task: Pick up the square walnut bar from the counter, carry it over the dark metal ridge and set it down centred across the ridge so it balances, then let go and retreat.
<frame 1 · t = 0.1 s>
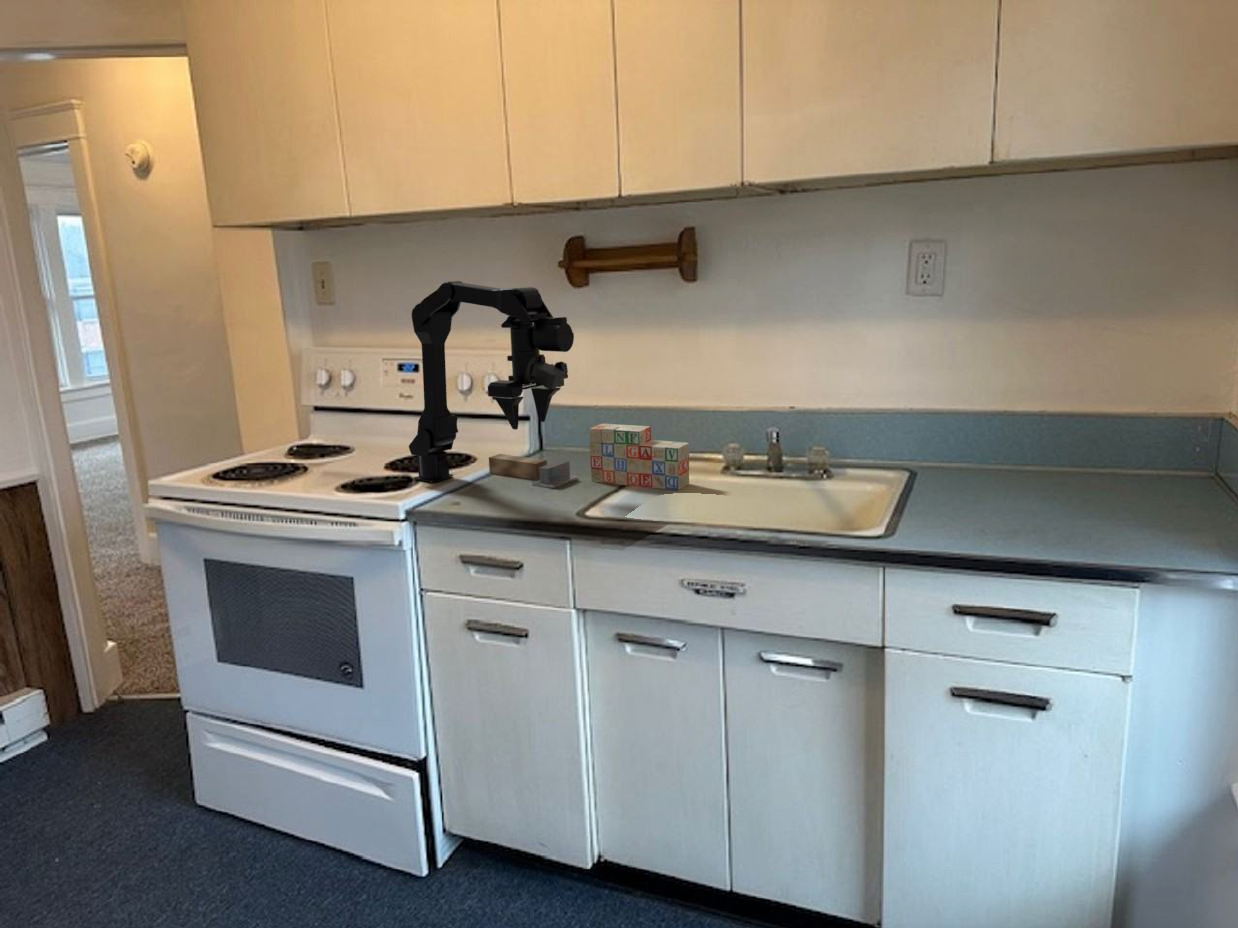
hand: (529, 425, 180), 15 cm above the worktop, fingers open, 9 cm apart
ridge: (555, 481, 192), on the worktop
bar: (518, 475, 200), on the worktop
stack of blocks: (639, 484, 190), on the worktop
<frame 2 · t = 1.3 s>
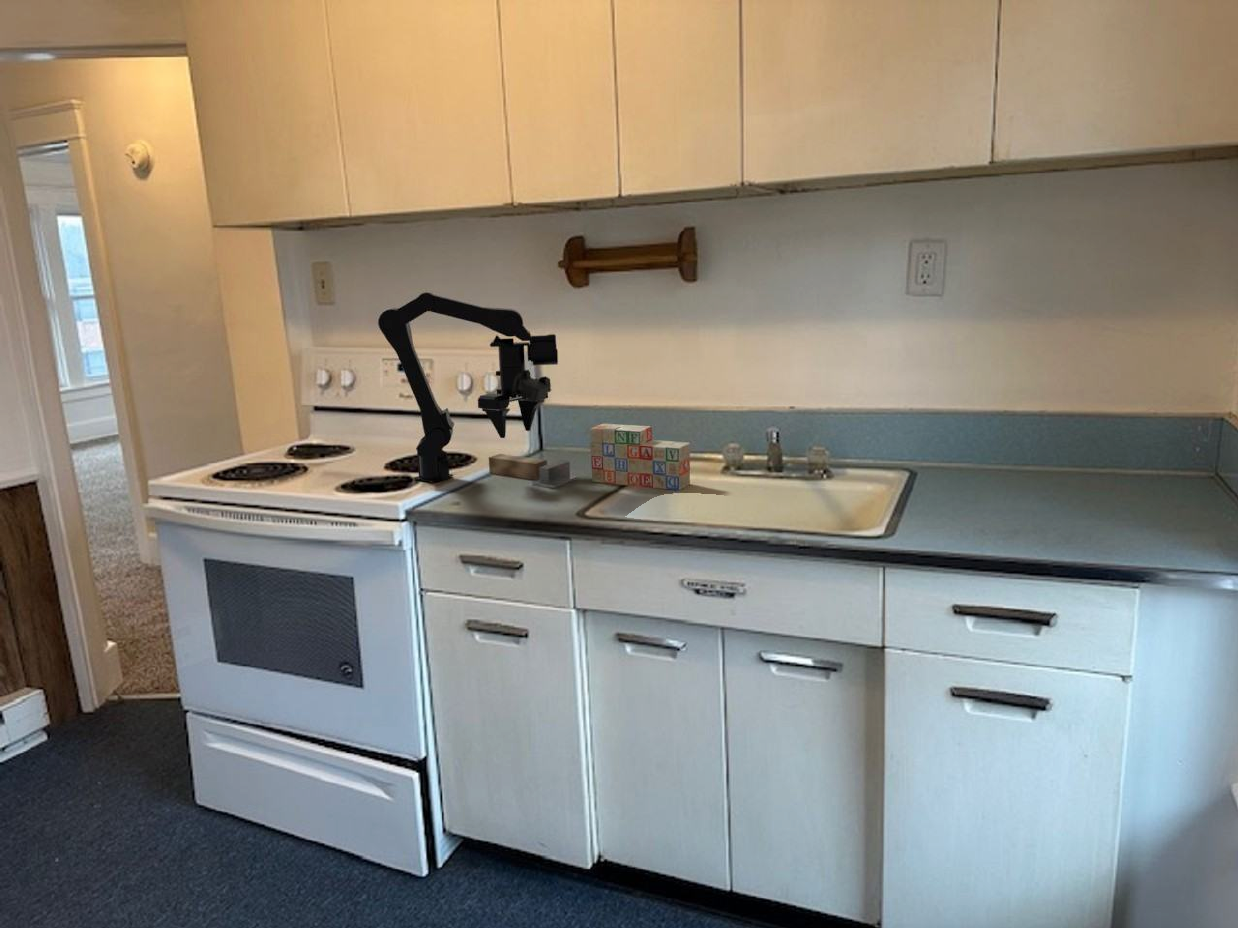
hand: (515, 434, 198), 9 cm above the worktop, fingers open, 9 cm apart
nothing on the worktop moved.
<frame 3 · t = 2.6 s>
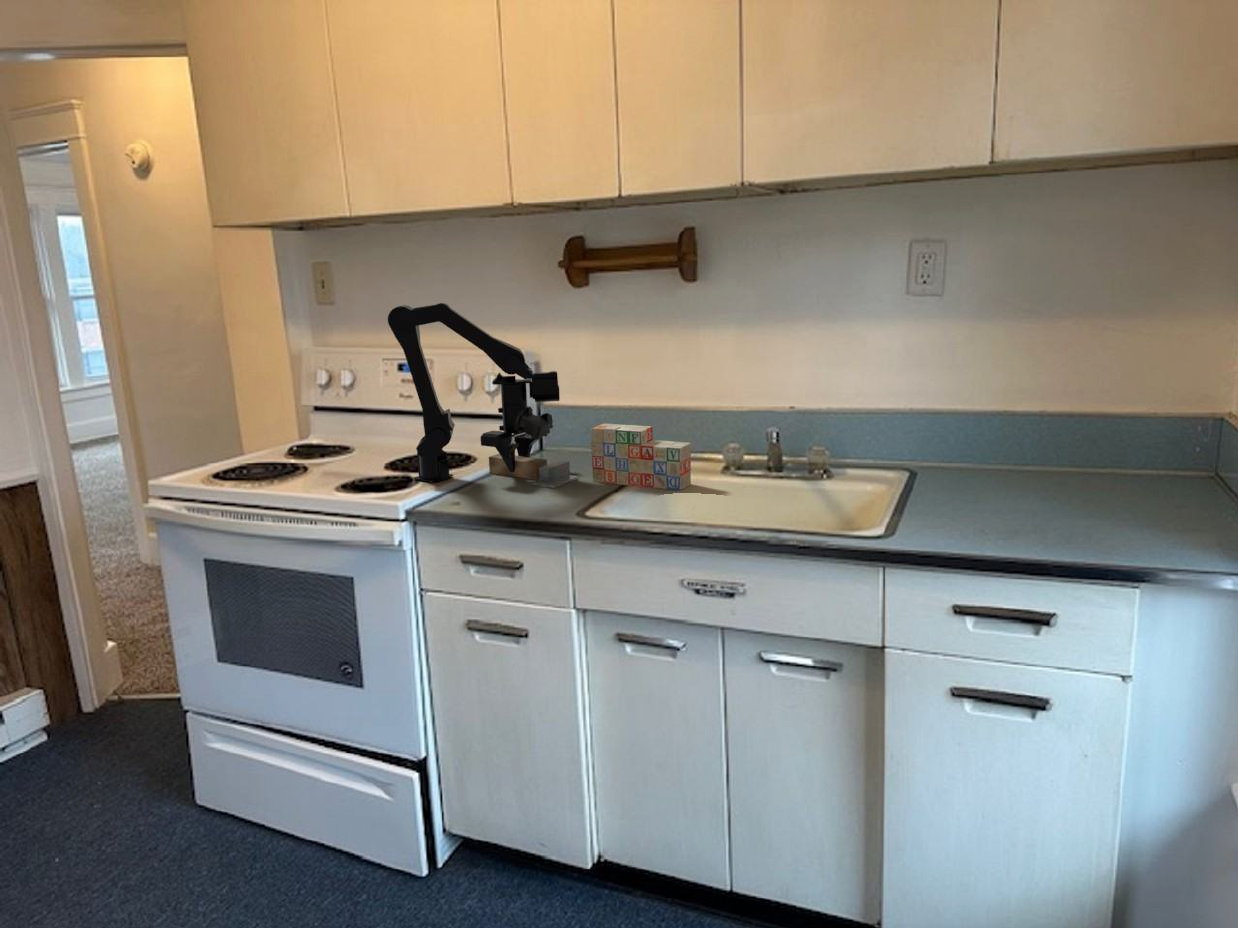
hand: (518, 469, 200), 1 cm above the worktop, fingers closed on bar, 4 cm apart
bar: (518, 475, 200), on the worktop, touching gripper
everything else where it was.
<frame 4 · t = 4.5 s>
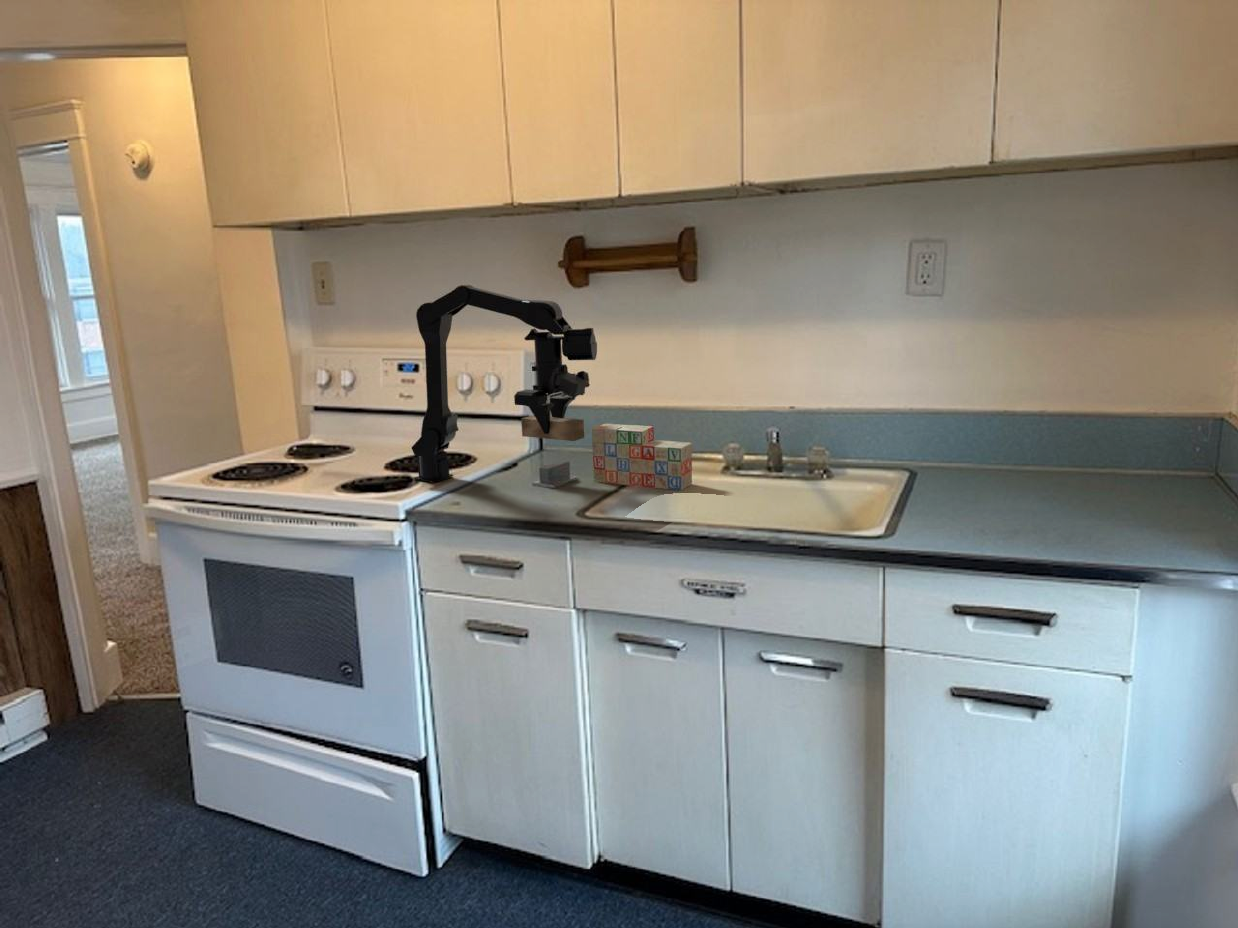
hand: (552, 431, 190), 11 cm above the worktop, fingers closed on bar, 4 cm apart
bar: (553, 436, 190), point 10 cm above the worktop, touching gripper
everything else where it was.
when the fingers open (6 cm above the worktop, at t = 5.6 s): bar stays where it is, resting on ridge.
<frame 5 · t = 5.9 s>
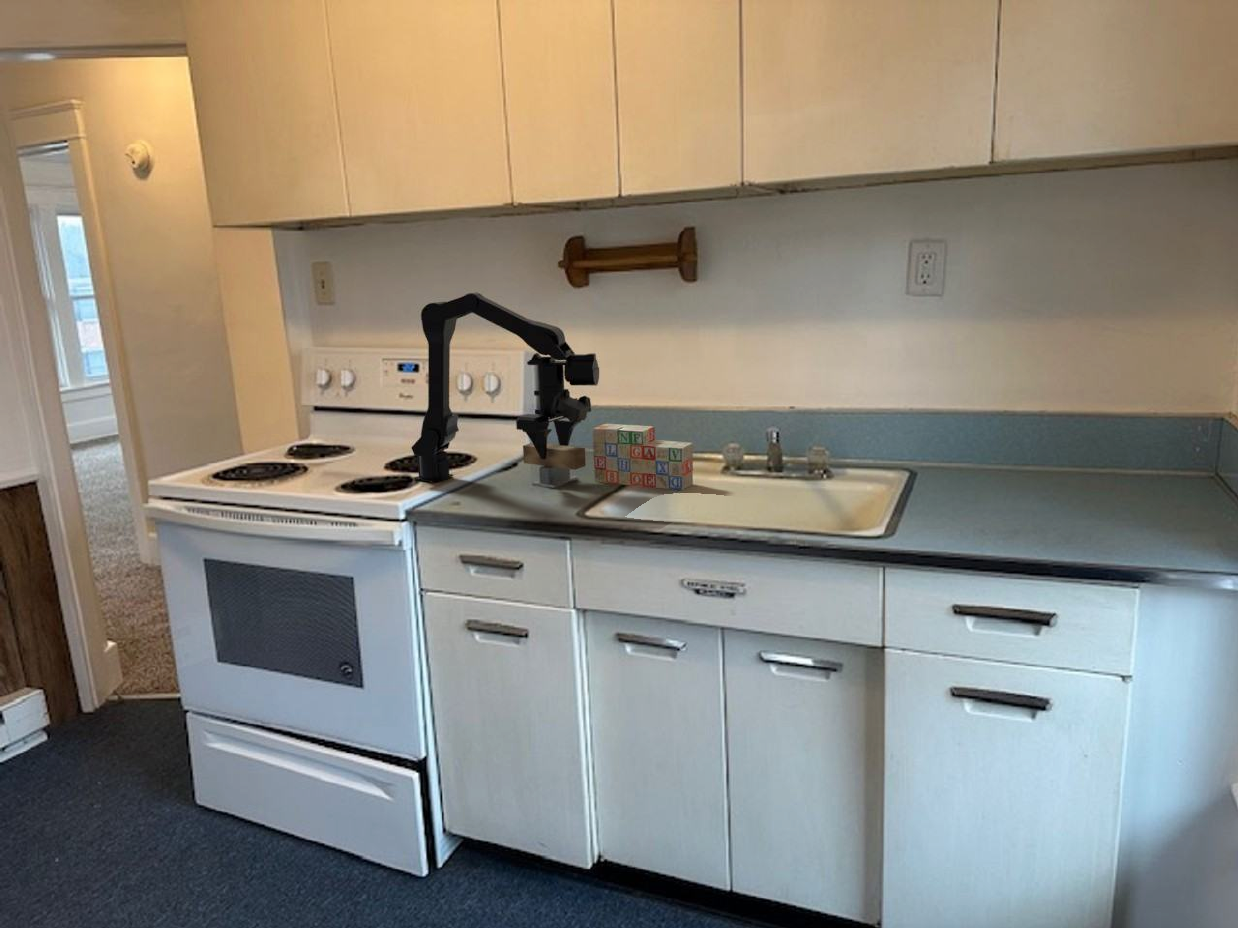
hand: (554, 455, 191), 6 cm above the worktop, fingers open, 7 cm apart
bar: (554, 464, 191), point 4 cm above the worktop, touching ridge
everything else where it was.
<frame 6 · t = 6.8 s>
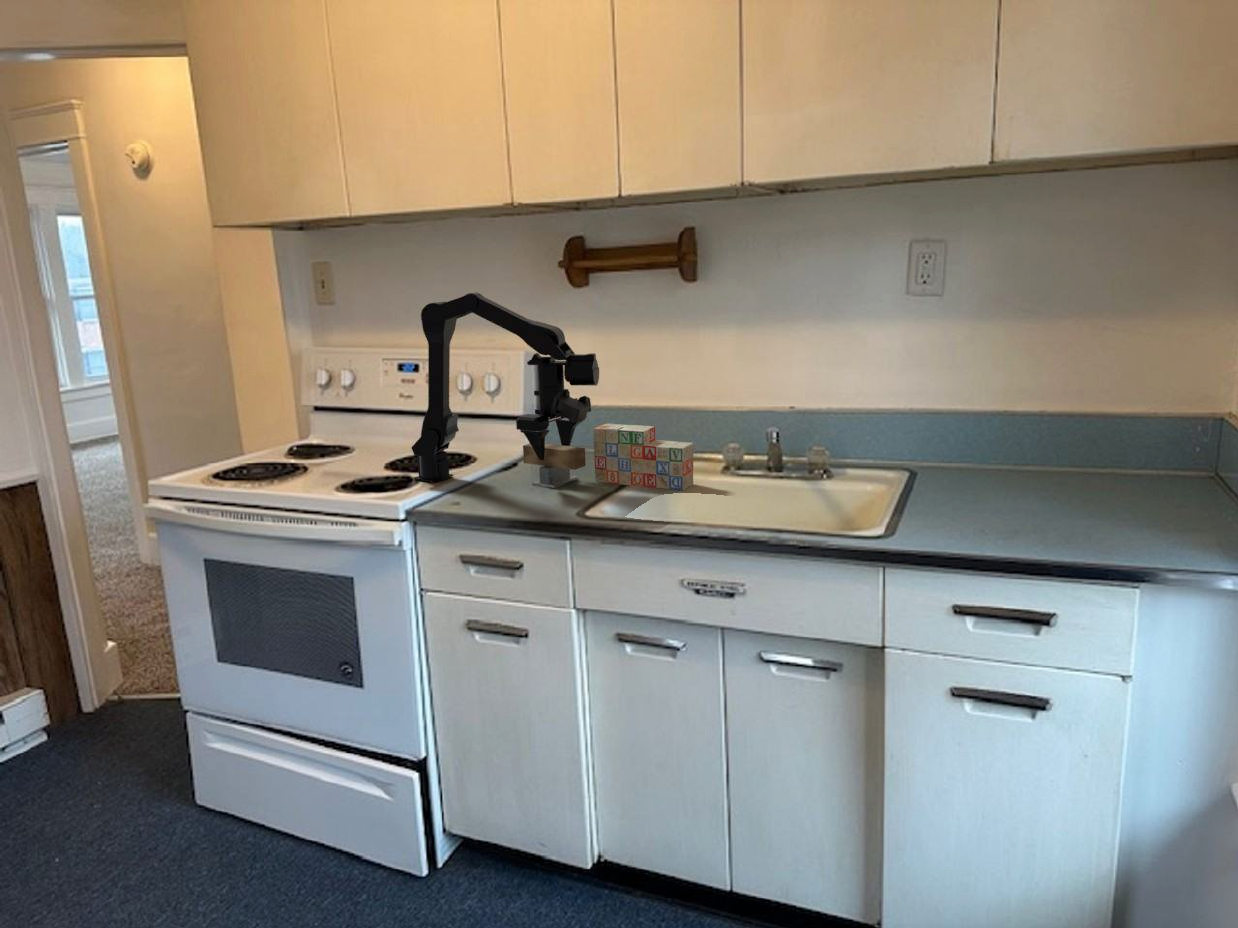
hand: (554, 455, 191), 6 cm above the worktop, fingers open, 9 cm apart
nothing on the worktop moved.
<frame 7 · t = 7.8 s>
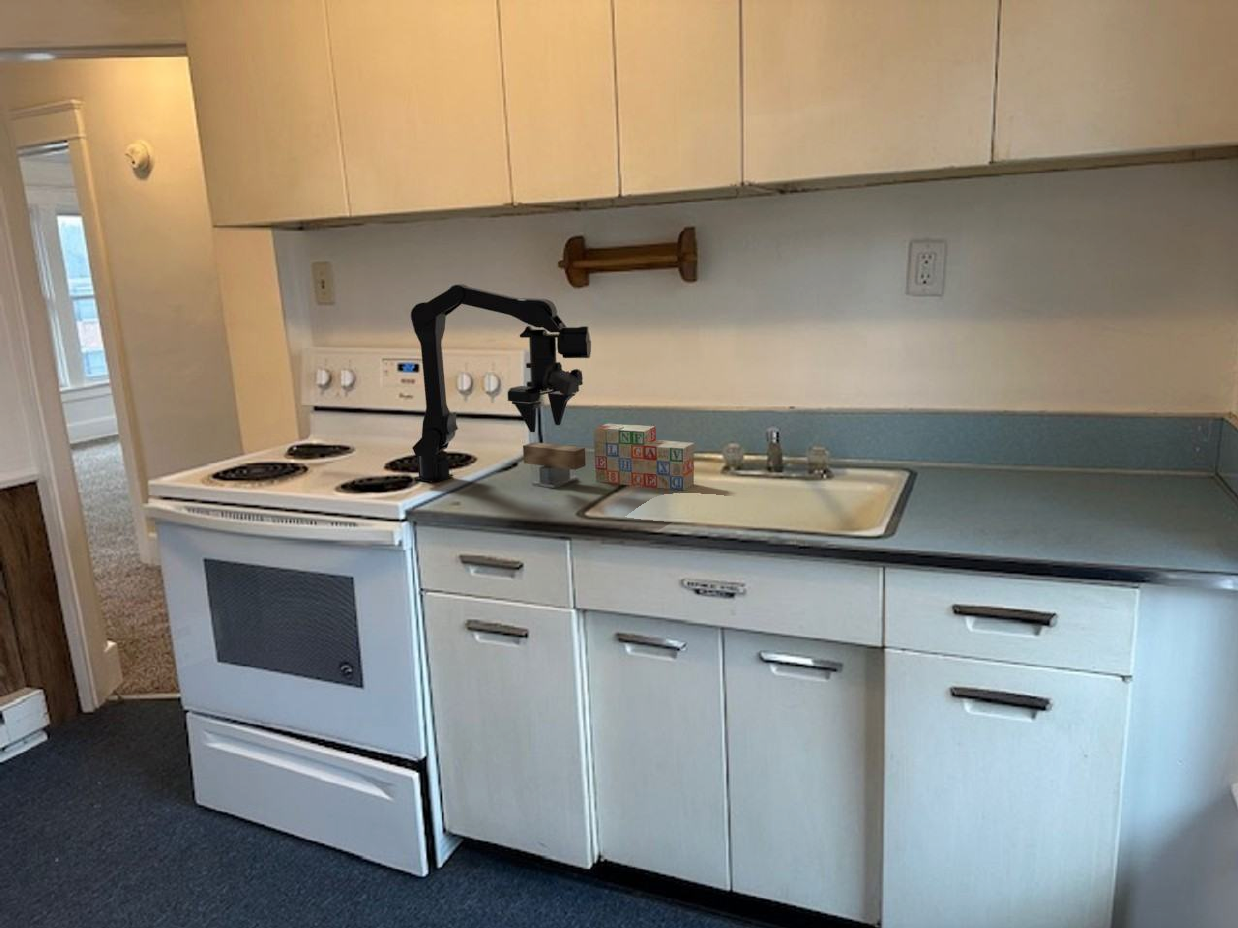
hand: (545, 428, 192), 12 cm above the worktop, fingers open, 9 cm apart
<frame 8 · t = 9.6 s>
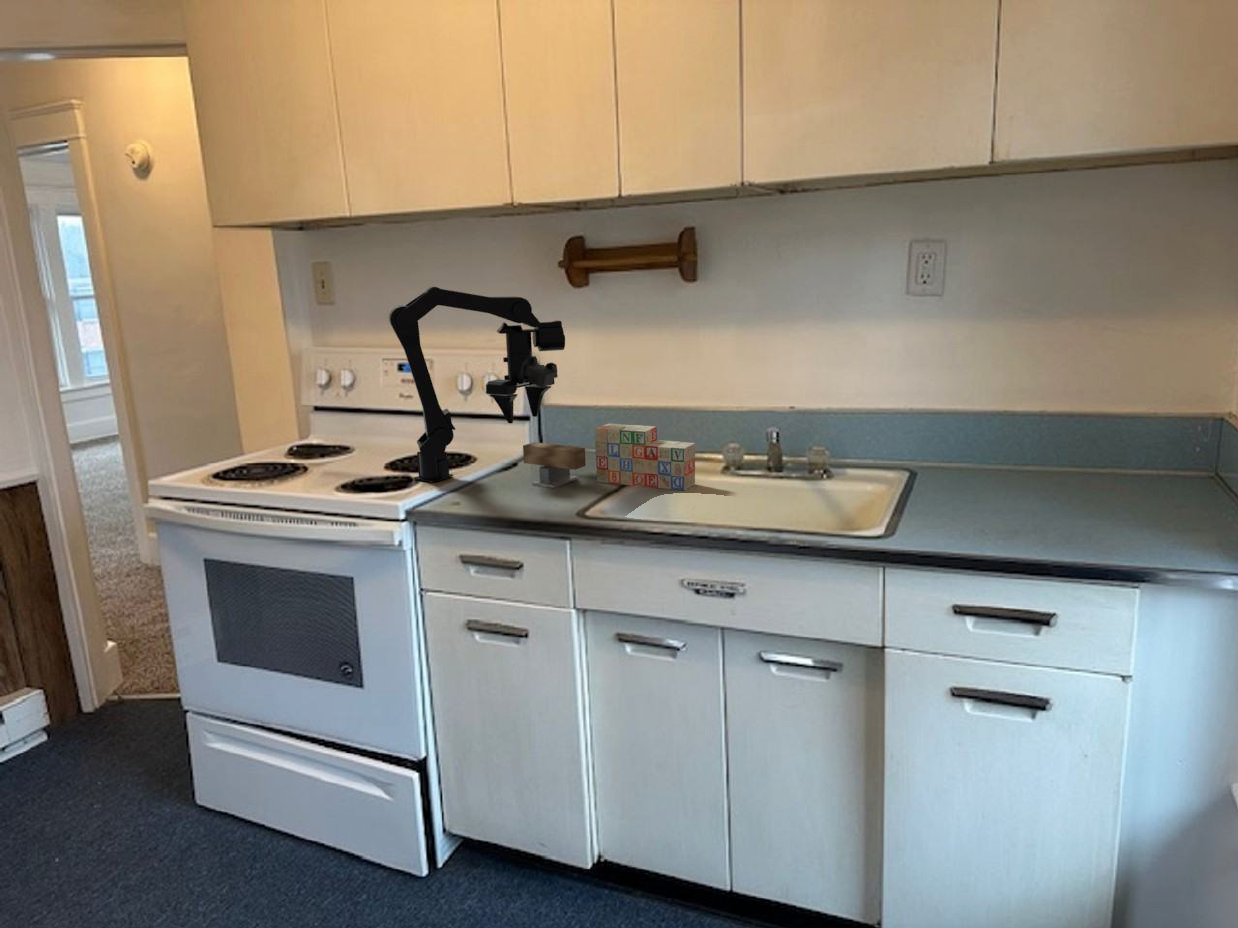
hand: (522, 419, 201), 12 cm above the worktop, fingers open, 9 cm apart
at the end: bar point 4.0 cm above the worktop; bar 0.0 cm from the ridge (horizontally); bar tilted 0° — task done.
